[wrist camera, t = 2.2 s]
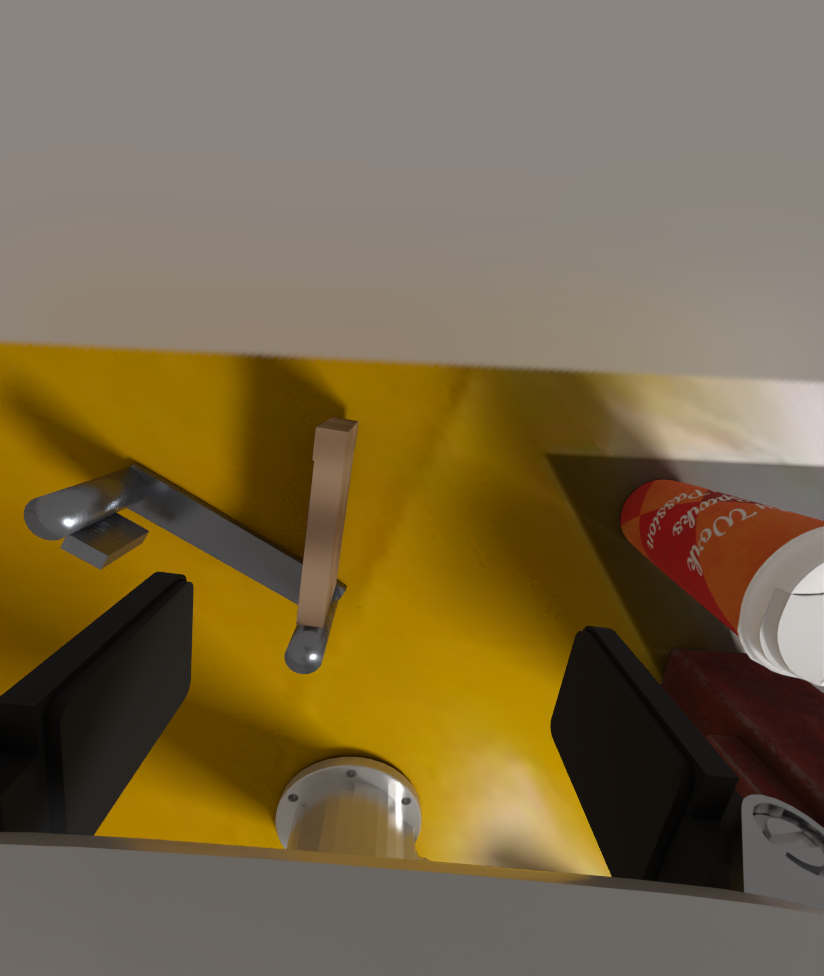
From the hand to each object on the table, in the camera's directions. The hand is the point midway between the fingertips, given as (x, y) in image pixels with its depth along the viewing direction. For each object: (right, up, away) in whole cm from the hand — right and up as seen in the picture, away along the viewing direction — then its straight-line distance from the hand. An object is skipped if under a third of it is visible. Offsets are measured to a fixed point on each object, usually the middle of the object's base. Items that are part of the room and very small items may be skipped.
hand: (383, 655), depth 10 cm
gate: (-5, +3, +19) cm, 20 cm away
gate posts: (-13, 0, +21) cm, 24 cm away
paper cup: (+19, +2, +21) cm, 29 cm away
